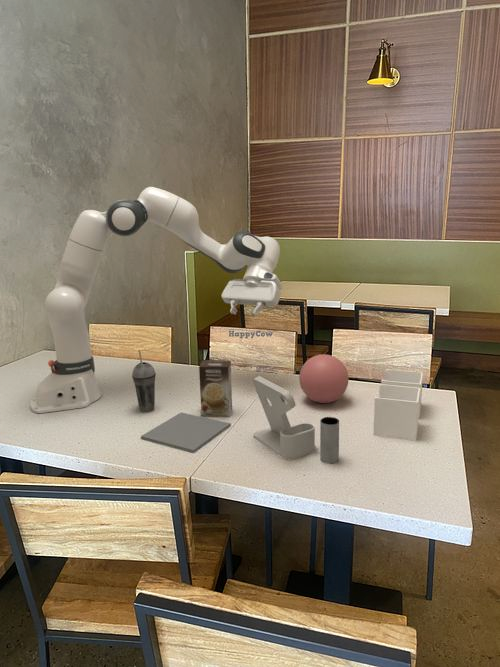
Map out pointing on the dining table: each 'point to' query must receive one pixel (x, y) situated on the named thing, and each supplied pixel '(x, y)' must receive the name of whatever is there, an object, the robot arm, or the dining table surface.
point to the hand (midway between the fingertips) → (242, 314)
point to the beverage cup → (144, 385)
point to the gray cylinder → (329, 439)
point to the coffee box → (215, 388)
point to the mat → (186, 432)
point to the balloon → (323, 378)
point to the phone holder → (282, 423)
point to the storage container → (398, 404)
